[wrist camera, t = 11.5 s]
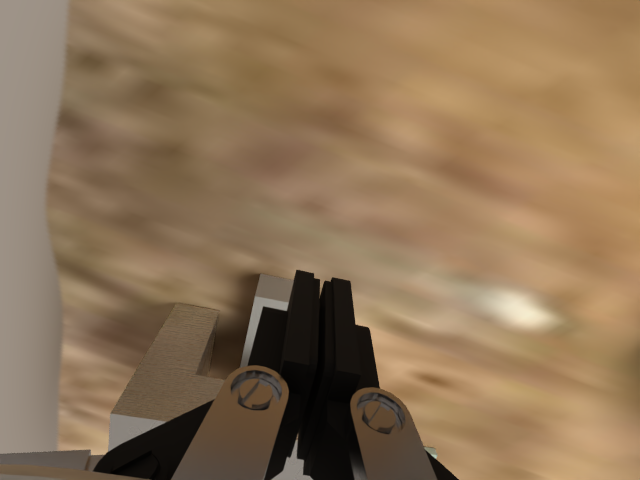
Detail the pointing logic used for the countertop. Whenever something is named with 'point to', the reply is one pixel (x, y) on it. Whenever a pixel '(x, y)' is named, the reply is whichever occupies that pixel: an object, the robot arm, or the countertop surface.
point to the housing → (176, 381)
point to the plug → (269, 295)
